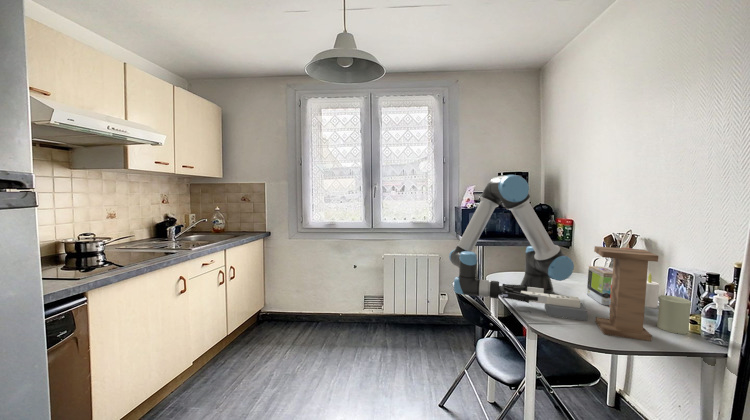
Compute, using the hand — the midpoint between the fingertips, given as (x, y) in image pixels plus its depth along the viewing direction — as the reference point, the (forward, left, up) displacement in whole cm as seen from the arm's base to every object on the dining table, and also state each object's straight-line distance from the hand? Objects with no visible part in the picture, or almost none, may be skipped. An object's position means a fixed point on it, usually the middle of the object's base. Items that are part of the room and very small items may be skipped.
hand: (545, 295), depth 144 cm
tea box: (-27, +29, -7) cm, 40 cm away
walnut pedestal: (+11, +24, -7) cm, 27 cm away
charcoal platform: (0, +8, -7) cm, 10 cm away
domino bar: (0, +2, -3) cm, 3 cm away
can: (+1, +44, -7) cm, 44 cm away
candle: (-27, +46, -7) cm, 54 cm away
